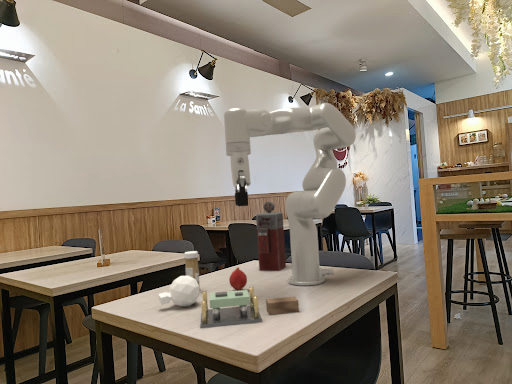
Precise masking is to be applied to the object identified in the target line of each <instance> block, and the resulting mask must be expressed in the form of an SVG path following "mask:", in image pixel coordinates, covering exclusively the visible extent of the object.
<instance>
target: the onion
mask: <svg viewBox="0 0 512 384" xmlns="http://www.w3.org/2000/svg"><path fill="white" fill-rule="evenodd" d="M247 283H248V278H247V275H246V273H245V272H243V270H241V269H240V267H239V266H237V267H236V268H235V269H234V270H233V271H232V272H231V274H230V276H229V285H230V286H231V288H233V289H234V291H241V290H244V287H245V286H246V285H247Z"/></svg>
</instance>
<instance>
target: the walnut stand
mask: <svg viewBox="0 0 512 384" xmlns="http://www.w3.org/2000/svg"><path fill="white" fill-rule="evenodd" d="M265 304H266V312H267V314H268V315H279V314H280V315H282V314H291V313H292V314H293V313H300V306H299V305H300V304H299V299H298V298H297V297H296V296H288V297H286V296H285V297H276V298H266V299H265Z"/></svg>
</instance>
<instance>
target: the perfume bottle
mask: <svg viewBox="0 0 512 384" xmlns="http://www.w3.org/2000/svg"><path fill="white" fill-rule="evenodd" d="M199 285H200V284H199ZM199 285H198V283H197V281H196V279H194V278H192V277H190V276H186V275H180V276H178V277H177V278H175V279H173V281H172V283H171V284H170V286H169V289H168V290H169V292H168V291H164V292H162V293H161V292H160V293H158V301H159V303H160V304H161V306H163V305H166V304H169V303H170V301H172V303H173V305H174V304H175V305H177V306H178V307H181V308H182V307H191V306H192V305H193V304H194V303H196V302H197V300H198V298H199V297H200V296H201V294H200V293H201V289H200V290H199Z"/></svg>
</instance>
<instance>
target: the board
mask: <svg viewBox="0 0 512 384" xmlns="http://www.w3.org/2000/svg"><path fill="white" fill-rule="evenodd" d="M240 305H247V306H250V293H249V292H248V289H242V290H241V291H237V290H231V291H219V292H210V293H209V309H213V308H218V307H220V308H230V307H239V306H240Z"/></svg>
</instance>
